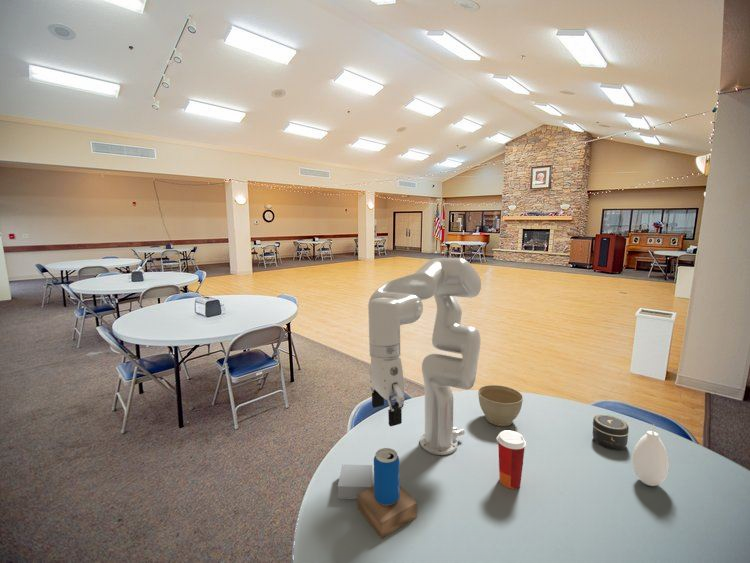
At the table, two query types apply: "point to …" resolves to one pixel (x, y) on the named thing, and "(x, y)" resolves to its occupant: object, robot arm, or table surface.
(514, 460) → the paper cup
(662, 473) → the white egg shaped candle
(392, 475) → the beverage can
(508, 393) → the planter bowl
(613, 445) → the jar
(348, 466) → the grey square block
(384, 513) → the walnut block
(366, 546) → the table surface
